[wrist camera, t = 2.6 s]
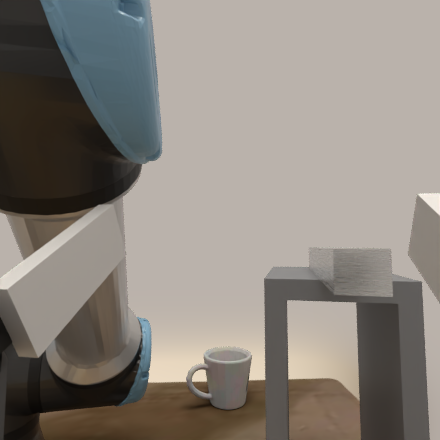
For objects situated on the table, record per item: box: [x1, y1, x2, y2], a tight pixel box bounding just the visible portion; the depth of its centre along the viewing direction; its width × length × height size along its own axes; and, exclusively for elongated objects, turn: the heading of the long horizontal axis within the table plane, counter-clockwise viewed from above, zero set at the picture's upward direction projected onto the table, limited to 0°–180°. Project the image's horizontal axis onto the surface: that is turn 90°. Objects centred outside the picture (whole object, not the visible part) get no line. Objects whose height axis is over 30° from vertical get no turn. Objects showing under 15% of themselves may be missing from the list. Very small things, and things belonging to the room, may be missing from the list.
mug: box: [186, 347, 252, 410], centre depth 69 cm, size 10×15×10 cm
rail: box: [309, 248, 393, 297], centre depth 33 cm, size 26×4×3 cm, turn 168°
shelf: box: [264, 267, 430, 440], centre depth 38 cm, size 19×14×30 cm
